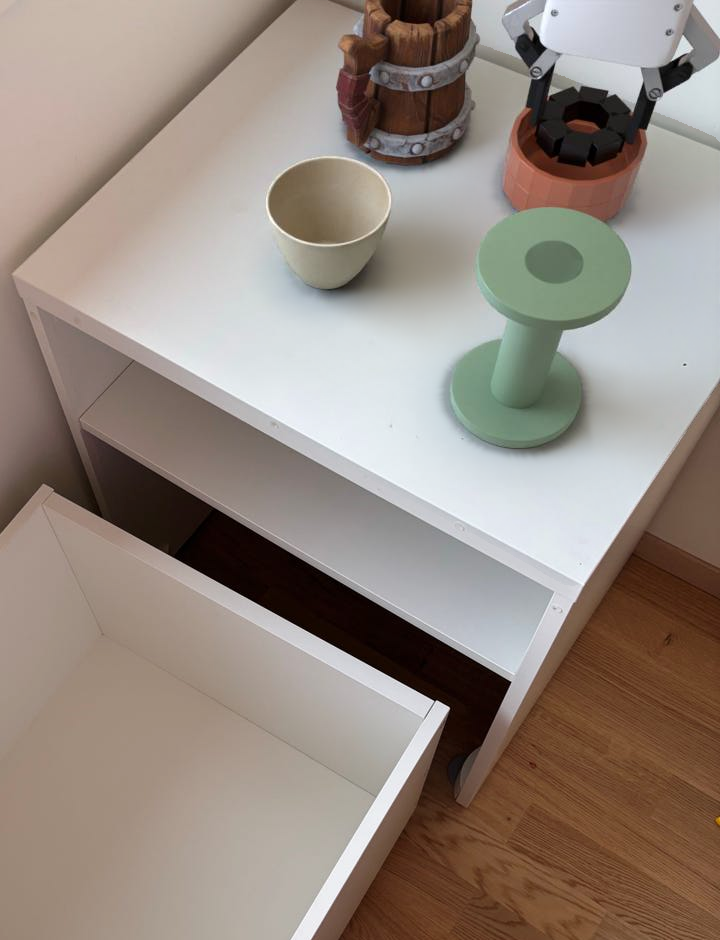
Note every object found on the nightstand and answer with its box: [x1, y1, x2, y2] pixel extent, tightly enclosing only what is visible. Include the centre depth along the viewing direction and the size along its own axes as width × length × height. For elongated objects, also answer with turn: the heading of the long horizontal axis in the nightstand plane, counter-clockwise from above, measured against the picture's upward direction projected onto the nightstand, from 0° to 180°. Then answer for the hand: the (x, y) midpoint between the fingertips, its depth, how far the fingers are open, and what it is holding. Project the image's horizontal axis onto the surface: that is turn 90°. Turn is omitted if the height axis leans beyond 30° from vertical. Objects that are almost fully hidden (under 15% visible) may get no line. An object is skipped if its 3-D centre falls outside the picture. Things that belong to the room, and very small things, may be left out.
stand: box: [449, 207, 632, 449], centre depth 72 cm, size 10×10×14 cm
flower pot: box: [265, 155, 393, 290], centre depth 82 cm, size 10×10×7 cm
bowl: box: [501, 95, 648, 223], centre depth 85 cm, size 11×11×5 cm
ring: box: [534, 85, 632, 167], centre depth 82 cm, size 7×7×2 cm
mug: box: [335, 0, 481, 166], centre depth 86 cm, size 12×14×15 cm
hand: (584, 122), depth 82 cm, fingers closed on ring, 7 cm apart
